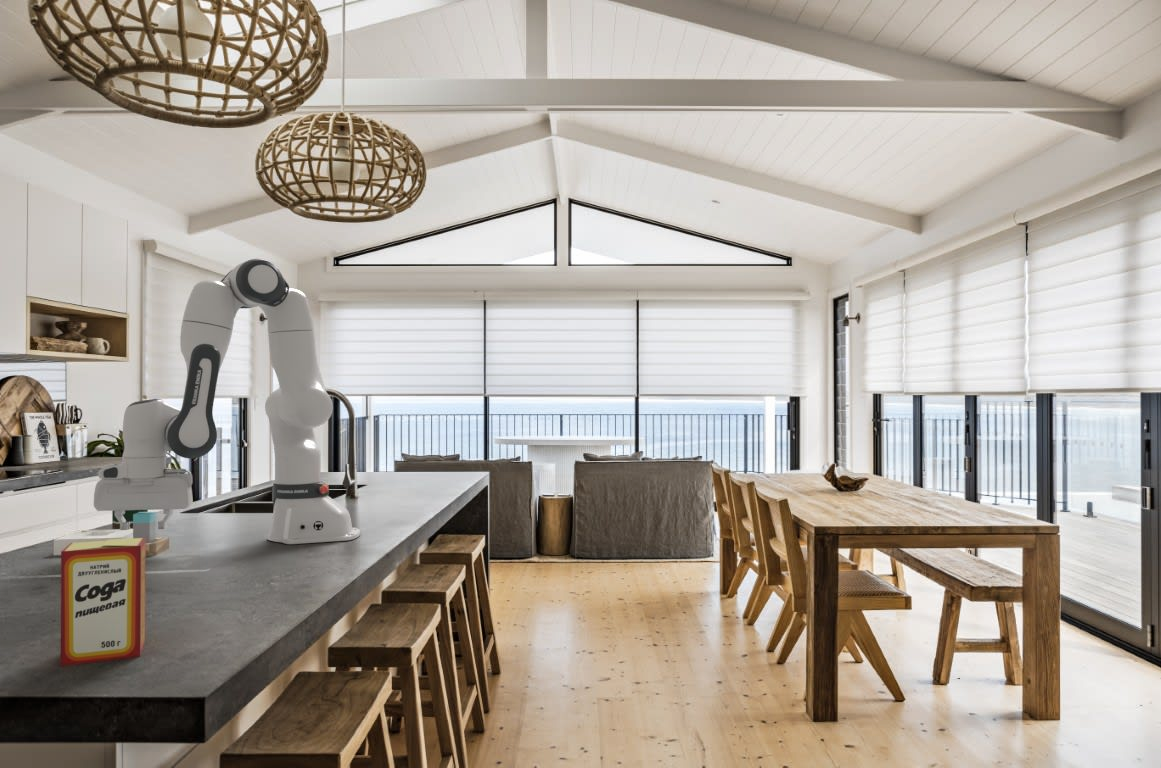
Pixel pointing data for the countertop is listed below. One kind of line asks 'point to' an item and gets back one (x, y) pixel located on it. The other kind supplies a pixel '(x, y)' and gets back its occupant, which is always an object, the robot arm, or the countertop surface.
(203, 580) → the countertop surface
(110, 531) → the port
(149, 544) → the square wooden tray
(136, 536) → the plug
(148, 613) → the countertop surface
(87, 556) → the baking soda box
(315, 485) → the robot arm
